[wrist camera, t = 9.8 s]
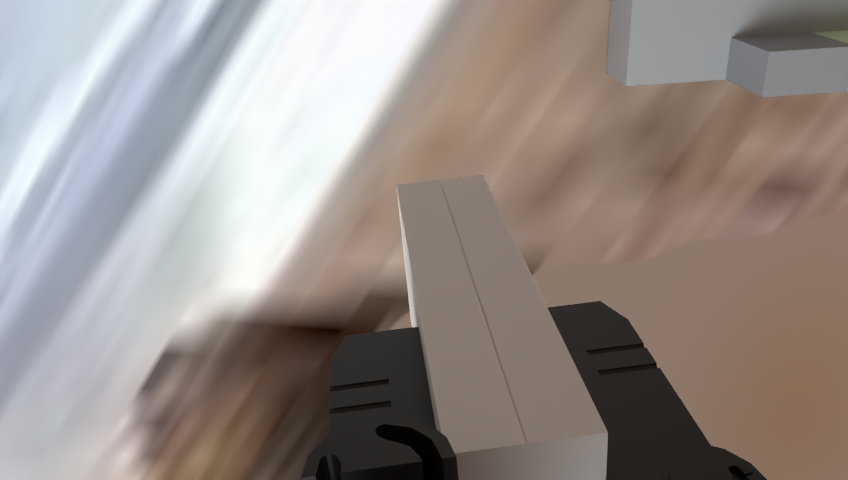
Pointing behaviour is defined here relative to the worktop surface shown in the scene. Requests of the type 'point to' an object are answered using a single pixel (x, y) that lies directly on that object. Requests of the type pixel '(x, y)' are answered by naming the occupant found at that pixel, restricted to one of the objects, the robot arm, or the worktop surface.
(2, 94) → the worktop surface
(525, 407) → the robot arm
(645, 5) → the grey tray
